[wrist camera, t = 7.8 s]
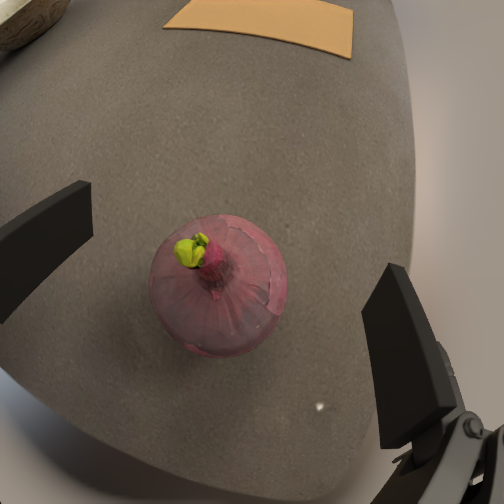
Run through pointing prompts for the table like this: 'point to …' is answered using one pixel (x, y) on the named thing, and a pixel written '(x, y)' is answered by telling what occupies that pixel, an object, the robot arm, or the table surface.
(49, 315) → the table surface
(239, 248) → the vegetable
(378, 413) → the robot arm
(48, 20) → the bowl
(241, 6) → the cork mat
